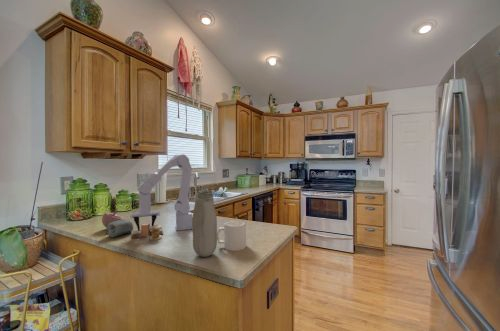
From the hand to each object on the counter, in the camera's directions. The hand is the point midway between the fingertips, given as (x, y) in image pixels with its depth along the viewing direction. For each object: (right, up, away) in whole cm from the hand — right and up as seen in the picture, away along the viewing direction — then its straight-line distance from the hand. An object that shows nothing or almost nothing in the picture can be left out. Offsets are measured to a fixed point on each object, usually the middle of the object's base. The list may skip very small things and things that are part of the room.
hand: (145, 229), depth 129 cm
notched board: (+1, -3, +1) cm, 3 cm away
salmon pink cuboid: (0, -3, 0) cm, 3 cm away
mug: (+49, -3, -19) cm, 53 cm away
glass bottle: (+38, -3, -29) cm, 48 cm away
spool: (-15, -3, +1) cm, 15 cm away
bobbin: (+8, -3, -6) cm, 10 cm away
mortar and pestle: (-25, -3, +13) cm, 28 cm away
